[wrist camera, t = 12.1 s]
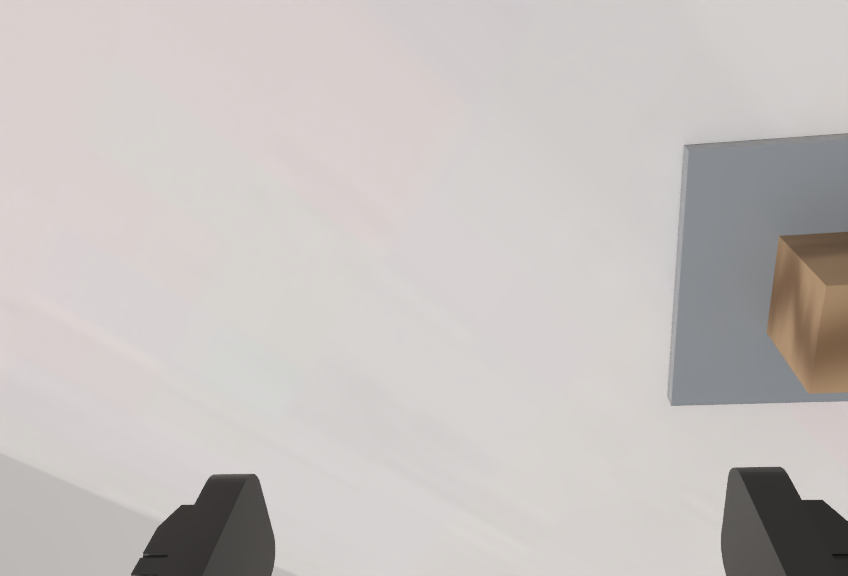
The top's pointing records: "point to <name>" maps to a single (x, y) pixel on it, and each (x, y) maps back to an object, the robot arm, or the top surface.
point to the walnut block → (812, 309)
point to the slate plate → (745, 262)
